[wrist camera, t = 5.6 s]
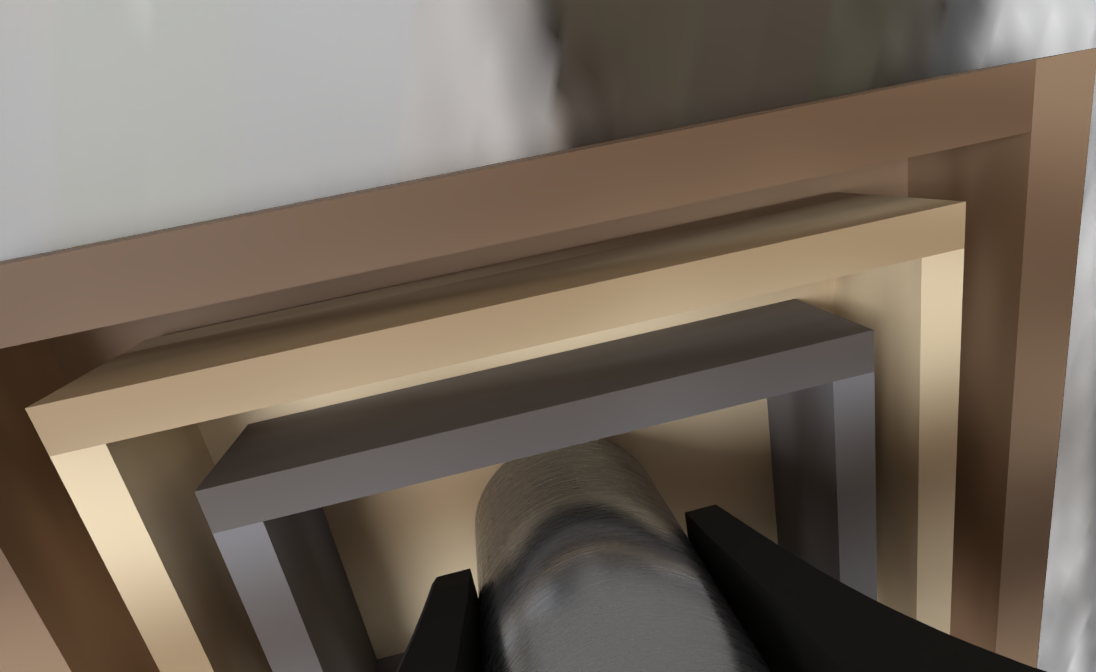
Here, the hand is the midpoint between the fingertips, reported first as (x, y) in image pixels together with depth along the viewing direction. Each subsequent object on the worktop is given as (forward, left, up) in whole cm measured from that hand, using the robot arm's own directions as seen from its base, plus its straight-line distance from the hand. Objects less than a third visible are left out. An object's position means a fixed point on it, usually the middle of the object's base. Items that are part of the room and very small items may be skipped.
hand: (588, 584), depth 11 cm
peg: (0, 0, -2) cm, 2 cm away
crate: (0, 0, -4) cm, 4 cm away
